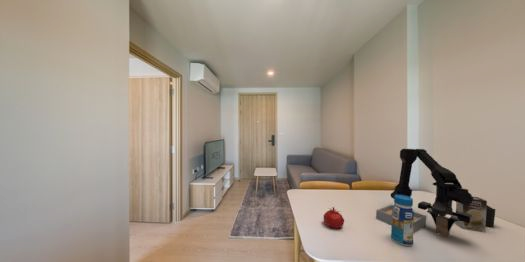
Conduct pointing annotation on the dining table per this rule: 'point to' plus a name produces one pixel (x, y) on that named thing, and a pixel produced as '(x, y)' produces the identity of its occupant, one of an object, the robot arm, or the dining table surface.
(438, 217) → the walnut peg
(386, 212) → the box
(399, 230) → the beverage bottle
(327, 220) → the pomegranate
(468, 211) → the coffee box
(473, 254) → the dining table surface
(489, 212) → the pen holder
